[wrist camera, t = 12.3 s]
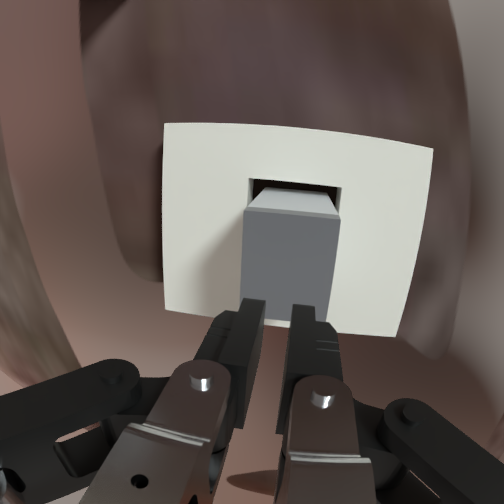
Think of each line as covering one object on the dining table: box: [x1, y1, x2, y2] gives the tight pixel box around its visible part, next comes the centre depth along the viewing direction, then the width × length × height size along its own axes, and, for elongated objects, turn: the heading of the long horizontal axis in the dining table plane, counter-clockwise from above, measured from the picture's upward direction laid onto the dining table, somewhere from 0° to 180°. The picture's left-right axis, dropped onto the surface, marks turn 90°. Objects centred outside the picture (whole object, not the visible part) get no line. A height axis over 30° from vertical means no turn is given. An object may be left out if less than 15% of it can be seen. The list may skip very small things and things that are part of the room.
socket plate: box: [162, 123, 433, 337], centre depth 22 cm, size 18×14×2 cm
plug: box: [239, 187, 341, 322], centre depth 19 cm, size 4×5×9 cm
